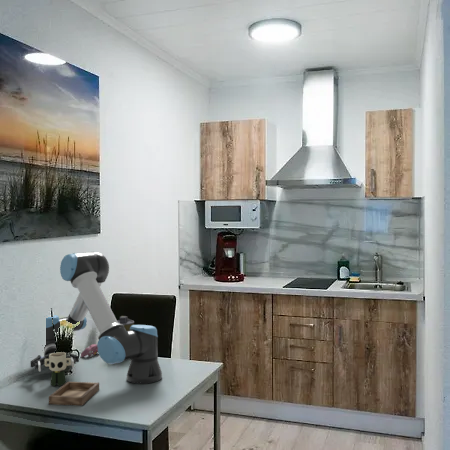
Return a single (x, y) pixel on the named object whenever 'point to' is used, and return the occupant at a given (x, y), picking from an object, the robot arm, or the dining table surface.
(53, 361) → the character mug
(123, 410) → the dining table surface
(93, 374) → the dining table surface
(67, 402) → the wooden tray
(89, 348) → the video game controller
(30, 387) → the dining table surface
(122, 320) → the canister
